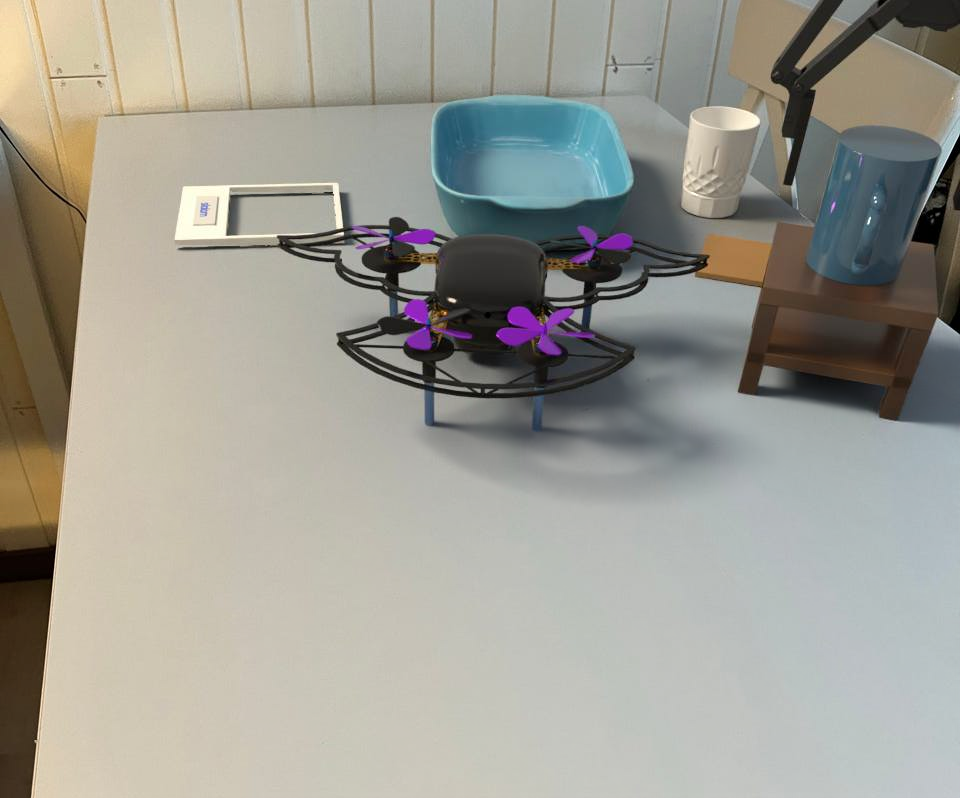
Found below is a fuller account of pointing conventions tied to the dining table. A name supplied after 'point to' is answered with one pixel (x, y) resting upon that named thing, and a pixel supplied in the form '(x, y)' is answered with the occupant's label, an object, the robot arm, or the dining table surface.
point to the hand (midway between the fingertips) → (872, 192)
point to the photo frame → (209, 213)
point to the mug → (871, 204)
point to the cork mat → (735, 260)
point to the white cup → (717, 159)
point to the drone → (488, 302)
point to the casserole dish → (529, 167)
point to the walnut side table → (842, 321)
